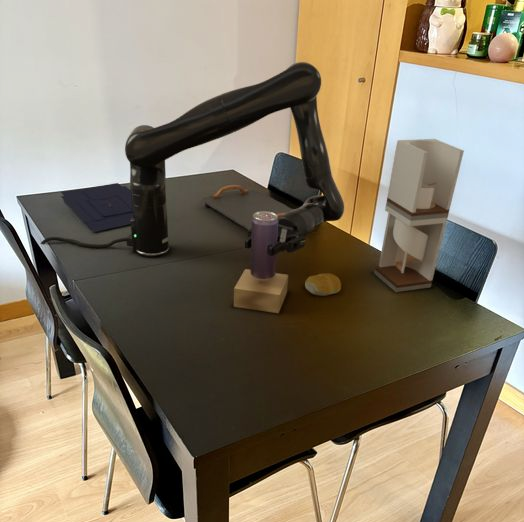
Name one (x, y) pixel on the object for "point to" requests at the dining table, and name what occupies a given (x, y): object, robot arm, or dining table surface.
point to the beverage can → (263, 245)
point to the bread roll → (323, 284)
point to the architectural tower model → (417, 211)
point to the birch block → (260, 292)
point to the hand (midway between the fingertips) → (258, 248)
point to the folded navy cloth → (101, 205)
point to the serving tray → (243, 204)
